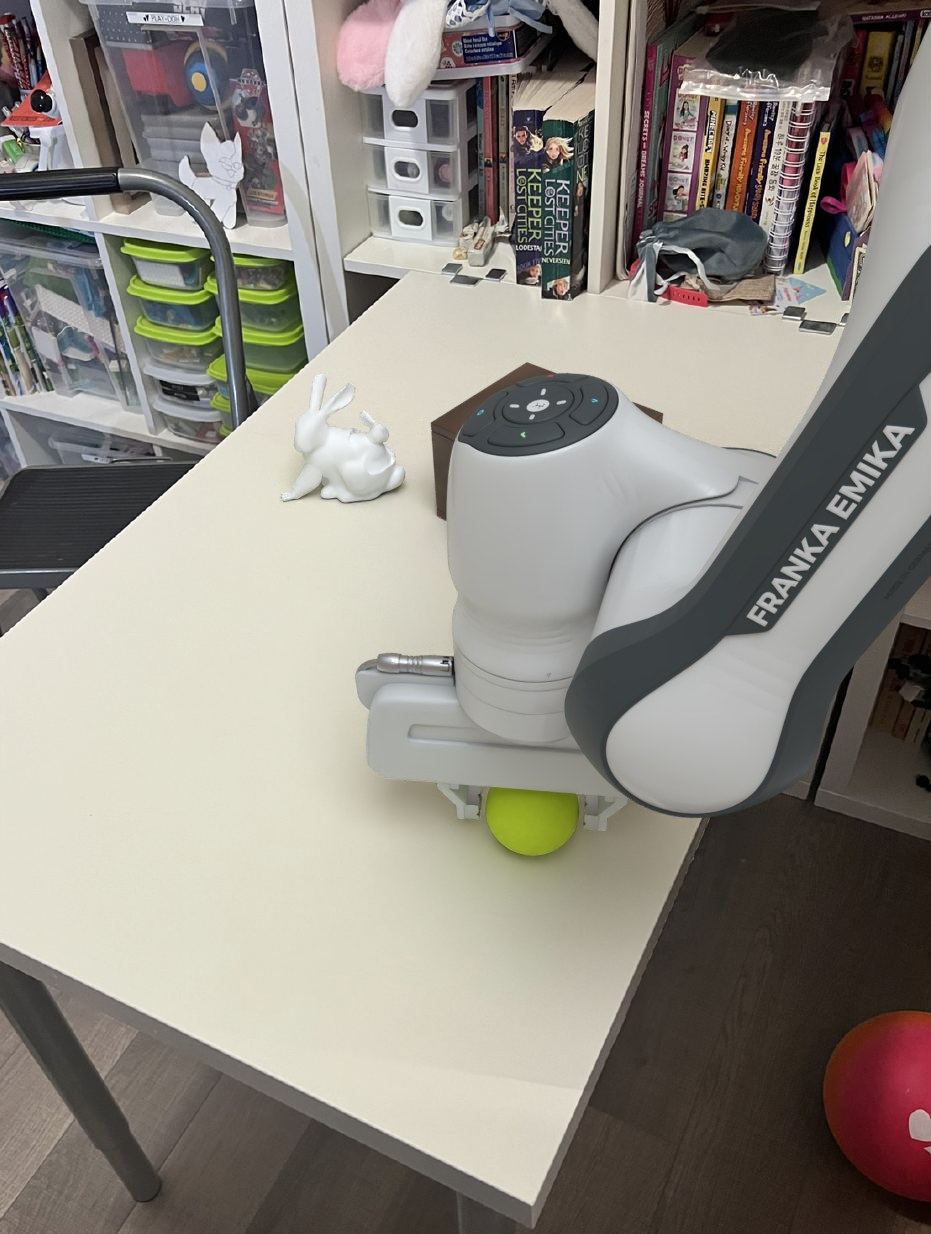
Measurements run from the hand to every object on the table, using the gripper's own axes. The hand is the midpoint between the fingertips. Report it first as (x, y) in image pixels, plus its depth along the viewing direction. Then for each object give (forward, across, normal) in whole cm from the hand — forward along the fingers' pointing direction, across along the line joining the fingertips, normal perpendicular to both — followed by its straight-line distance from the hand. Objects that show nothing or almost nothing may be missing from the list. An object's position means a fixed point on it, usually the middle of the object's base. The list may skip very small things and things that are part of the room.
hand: (531, 816), depth 67 cm
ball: (-1, 0, 0) cm, 1 cm away
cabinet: (+2, -2, +36) cm, 36 cm away
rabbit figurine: (+2, -21, +40) cm, 45 cm away
